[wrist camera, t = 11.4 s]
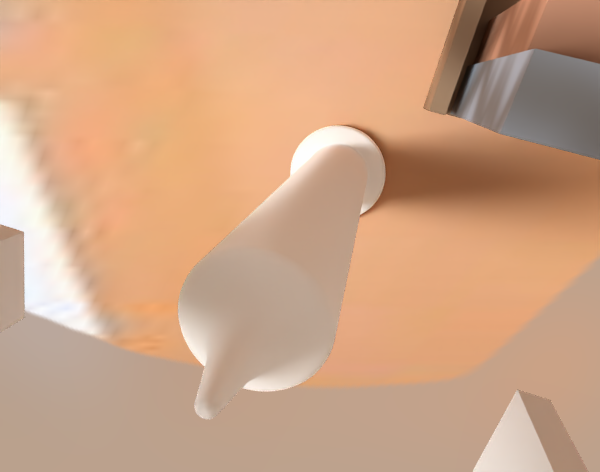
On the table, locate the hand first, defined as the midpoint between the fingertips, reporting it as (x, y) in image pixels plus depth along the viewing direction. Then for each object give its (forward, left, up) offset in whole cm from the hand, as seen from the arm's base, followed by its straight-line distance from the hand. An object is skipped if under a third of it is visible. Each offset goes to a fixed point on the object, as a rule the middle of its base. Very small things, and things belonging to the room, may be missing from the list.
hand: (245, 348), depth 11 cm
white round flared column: (0, 0, -23) cm, 23 cm away
